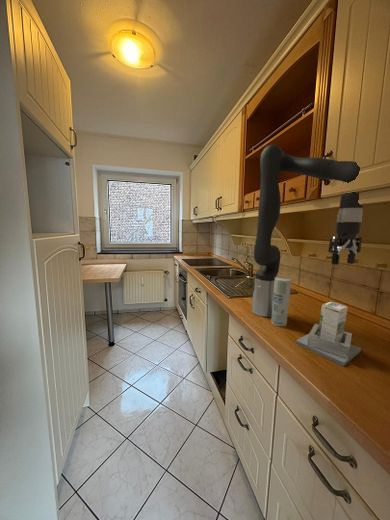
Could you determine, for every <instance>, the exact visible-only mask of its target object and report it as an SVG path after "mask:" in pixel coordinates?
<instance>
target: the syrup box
mask: <svg viewBox="0 0 390 520" xmlns="http://www.w3.org/2000/svg"><path fill="white" fill-rule="evenodd" d="M347 313H348V306H346V305H344V304H340V303H337V302H334V301H329V302H326V303H323V304H322V305H321V309H320V316H319V323H318V324H319V328H318V336H321V337H324V338H327V339H331V340H334V341H337V342H340V343H342V337H343V331H344V330H345V327H346V326H345V325H346V318H347ZM344 332H345V331H344Z"/></svg>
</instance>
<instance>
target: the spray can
mask: <svg viewBox="0 0 390 520" xmlns="http://www.w3.org/2000/svg"><path fill="white" fill-rule="evenodd" d="M291 286H292V279H291V278H290V277H284V276H276V277H275V283H274V295H273V306H272V316H271V317H270V318H271V319H270V322H271V324H272V325H275V326H277V327H286V326H287V324H288V315H289V314H288V313H289V307H290V305H289V304H290V295H291V288H292V287H291Z"/></svg>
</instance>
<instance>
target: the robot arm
mask: <svg viewBox="0 0 390 520" xmlns="http://www.w3.org/2000/svg"><path fill="white" fill-rule="evenodd" d="M259 159H260V161H259V165H260V166H259V167H260V188H259V201H258V212H257V214H258V215H257V216H258V217H257V227H256V229H257V230H256V237H255V243H254V247H253V248H254V249H253V259H254V261H255V263H256V264H257V265H258V266H260V267H259V269H258V270H257V271H256V272H255V277H254V279H255V280H254V291H253V292H252V302H251V311H252V313H253V314H254V315H256V316H258V317H264V318H265V317H266V318H267V317H270V318H271V317H272V306H273V295H274V283H275V277H278V274H279V271H280V265H281V264H280V263H281V250H280V248H279V247H278V246H277V245H275V244H274V245H273V244H271V243H272V235H273V231H274V229H275V227H276V225H277V223H278V221H279V219H280V216H281V215H280V214H281V204H282V202H281V201H282V199H281V191H280V190H281V189H280V185H279V174H280V173H293V174H297V175H302V176H307V177H312V178H315V179H321V180H325V181H331V180H334V181H338V182H343V183H344V182H347V183H349V182H351V181H353V180H355V179H356V177H357V176H358V174H359V171H360V167H359V166H358V165H357V163H356V162H357V161H354V162H353V160H352V161H351V160H350V161H349V160H348V161H347V160H334V159H329V158H323V157H298V156H293V155H291V154H287V153H286V152H284V150H283V149H282V148H281V147H280V146H278V145H276V144H268V145H267V146H266V147H265V148H264V149H263V150H262V152H261V154H260V158H259ZM342 194H343V193H342ZM342 194H341V197H340V201H339V208H338V209H339V210H338V213H337V216H336V217H337V218H336V224H335V234H337V236H331V237H330V239H329V244H328V245H329V246H328V250H327V251H328V253H330V254H332V257H331V264H332V265H336V266H337V265H339V263H340V257H341V255H340V254H341V252H343V251H344V250H347V252H348V254H347V258H346V259H347V260H346V264H348V265H349V264H351V265H353V264H355V259H356V255H357V254H358V253H360V252H361V248H362V241H363V239H362V236H357V235H360V233H361V227H362V221H363V210H364V209H363V208H364V204H363V205H360V204H359V203H358V200H359V193H356V192H352V193H345V194H343V195H342Z"/></svg>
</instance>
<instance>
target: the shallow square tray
mask: <svg viewBox="0 0 390 520" xmlns="http://www.w3.org/2000/svg"><path fill="white" fill-rule="evenodd" d="M318 328H319V323H314V324H313V326H312V328H311V330H310V331H309V333H308V334H309V335H308V343H307V345H308V346H311V347H314V348H317V349H320V350H322V351H325V352H328V353H331V354H334V355H337V356H340V357H343V358H346V359H348V355H349V349H350V344H351V343H352V337H353V336H352V335H353V334H352V333H351V332H347V331H343V337H342V343H340V342H337V341H334V340H331V339H327V338H324V337H321V336H318Z"/></svg>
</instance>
